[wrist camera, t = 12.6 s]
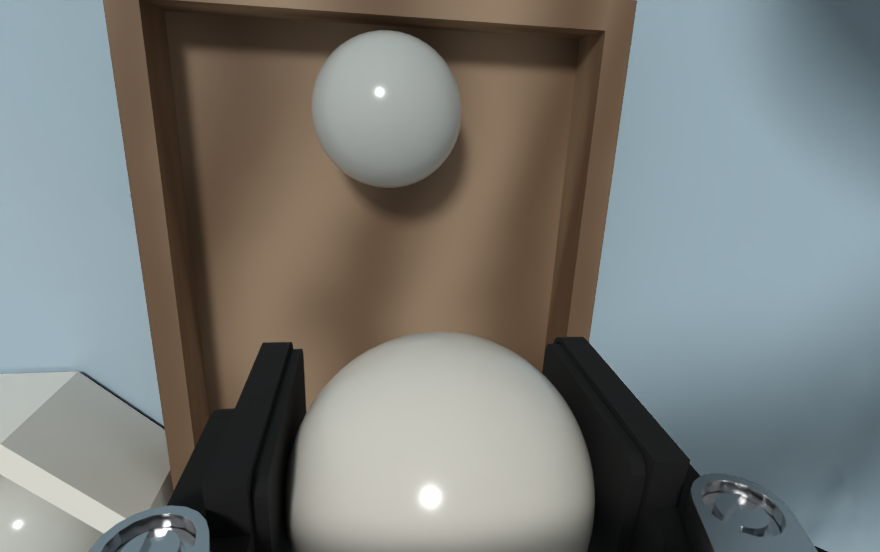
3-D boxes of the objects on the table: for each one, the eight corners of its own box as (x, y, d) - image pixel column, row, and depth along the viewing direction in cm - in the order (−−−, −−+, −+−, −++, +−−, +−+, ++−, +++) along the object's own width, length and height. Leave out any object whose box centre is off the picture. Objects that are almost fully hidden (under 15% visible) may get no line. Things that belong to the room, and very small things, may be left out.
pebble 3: (551, 287, 10) (698, 451, 6) (526, 483, 12) (623, 731, 7) (298, 288, 10) (232, 474, 5) (309, 496, 11) (267, 777, 7)
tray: (598, 15, 20) (636, 0, 18) (544, 459, 27) (566, 500, 24) (138, -20, 18) (96, -44, 15) (200, 481, 24) (179, 531, 21)
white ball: (67, 409, 22) (138, 451, 20) (87, 498, 24) (155, 545, 22) (-85, 479, 18) (-15, 541, 16) (-47, 581, 20) (21, 649, 18)
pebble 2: (452, 44, 19) (481, 24, 14) (445, 179, 21) (471, 200, 16) (315, 36, 18) (299, 11, 14) (319, 176, 20) (306, 197, 15)
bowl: (174, 368, 22) (124, 437, 18) (204, 595, 26) (170, 702, 22) (-176, 379, 20) (-338, 461, 16) (-87, 623, 24) (-194, 747, 20)
